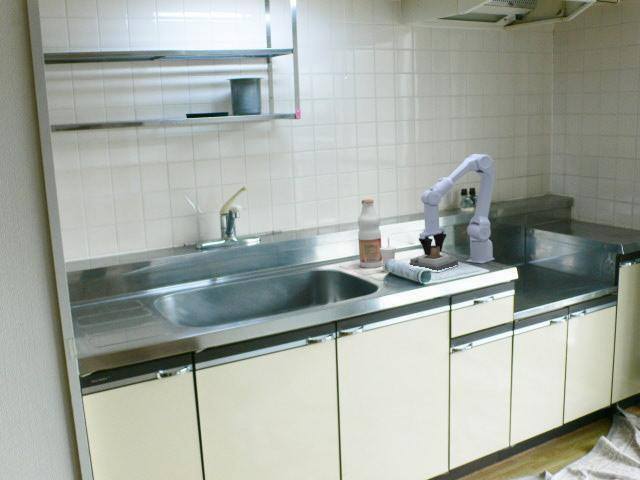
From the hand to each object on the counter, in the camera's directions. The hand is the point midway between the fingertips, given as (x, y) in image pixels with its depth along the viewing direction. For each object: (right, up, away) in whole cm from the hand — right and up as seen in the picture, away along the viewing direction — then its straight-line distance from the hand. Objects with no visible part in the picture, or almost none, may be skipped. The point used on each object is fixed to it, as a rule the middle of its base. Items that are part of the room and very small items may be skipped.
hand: (433, 253), depth 278 cm
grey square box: (0, -6, +1) cm, 6 cm away
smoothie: (-18, -8, 0) cm, 19 cm away
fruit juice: (-24, -6, +12) cm, 28 cm away
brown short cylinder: (0, -3, 0) cm, 3 cm away
